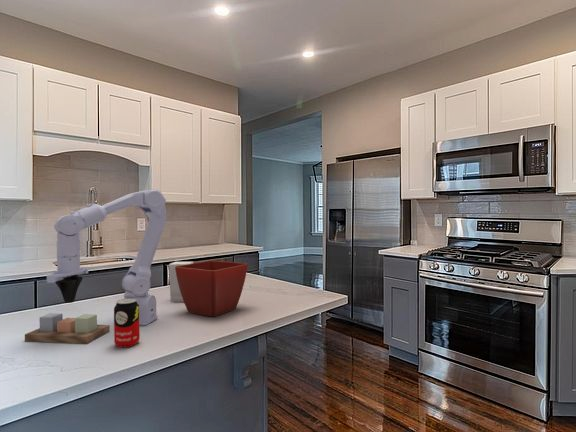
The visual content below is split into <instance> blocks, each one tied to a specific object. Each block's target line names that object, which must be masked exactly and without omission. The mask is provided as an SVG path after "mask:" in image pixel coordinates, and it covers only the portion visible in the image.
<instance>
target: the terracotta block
mask: <svg viewBox="0 0 576 432" xmlns="http://www.w3.org/2000/svg"><path fill="white" fill-rule="evenodd" d="M75 318H76V317H66V318H63V320H61V321H58V322H57V332H69V333H71V332H73V331H75Z"/></svg>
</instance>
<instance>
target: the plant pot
mask: <svg viewBox="0 0 576 432" xmlns="http://www.w3.org/2000/svg"><path fill="white" fill-rule="evenodd" d="M175 270H176V276H177V280H178V285H179V288H180V292H181V295H182V298H183V301H184V302H183V303H184V305H185V307H186V311H187V312H188V313H191V314H197V315H202V316H206V317H207V316H208V317H216V316H219V315H220V316H221V315H222V314H224V313H228V312H232V311H234V310H236V309H237V307H238V304H239V301H240V299H241V295H242V292H243V289H244V286H245V282H246V281H245V280H246V276H247V271H248V263H245V262H234V261H220V260H207V261H205V260H204V261H200V262H193V264H187V265H181V266H176V267H175Z"/></svg>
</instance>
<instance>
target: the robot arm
mask: <svg viewBox="0 0 576 432" xmlns="http://www.w3.org/2000/svg"><path fill="white" fill-rule="evenodd" d="M166 201H167V199H166V198H165V196H164V194H163V193H162V192H161V190H159V189H154V188H152V189H147V190H146V189H143V190H140V191H136V192H132V193H128V194H125V195H123V196H121V197H119V198H117V199H114V200H112V201H110V202H108V203H105V204H103V205H100V204H97V203H94V204H93V203H88V204H86V207H84V208H81V209H79V210H76V211H75V210H72V211H70V213H69V214H67V215H61V216H60V217H58V218H57V219H56V221H55V223H54V226H53V227H54V230H55V232H56V233H57V234H56V238H57V239H56V266H57V267H56V270H55V271H54V272H53V273H50V274H47V275H46V283H51V284H52V283H55V284H56V286H57V287H58V288H59V290H60V292H61V295H62V299H63V300H64V301H63V302H64V303H66V304H67V303H68V304H69V303H71V304H72V303H73V302H75V299H76V297H77V292H78V289H79V286H80V285H81V283H82V281H83V276H81V275H85V274H89V267H88V266H82V267H81V255H80V254H81V252H80V250H81V249H80V248H81V247H80V243H81V242H80V232H81V231H82V230H85V229H87V228H90V227H93V226H95V225H97V224H99V223H102V222H104V221H105V219H106V217H107V216H108V215H110V214H113V213H115V212H117V211H121V210H124V209H126V208H128V207H130V206H132V207H138V208H140V209H141V210H142V211H143V212H144V213H145V215H146V216H147V217H148V219H149V220H148V223H147V226H146V229H145V232H144V235H143V236H142V240H141V242H140V243H141V244H140V246H139V249H138V252H137V254H136V257H135V259H134V262H133V264H132V265H131V266H130V267H129V269H128V271H127V272H126V274H125V276H123V278H122V280H121V287H122V288H123V290H125V292H124V295H123V297H124V298H123V299H128V298H133V299H137V303H138V305H139V326H147V325H149V324H150V323H152V322H153V321H155V320H157V319H158V316H157V298H156V296H155V295H154V294H149V291H150V289H151V285H152V284H151V277H152V271H151V266H152V263H153V261H154V258H155V254H156V252H157V249H158V246H159V243H160V240H161V237H162V234H163V232H164V229H165V226H166V222H167V219H168V215H167V209H166Z"/></svg>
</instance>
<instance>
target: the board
mask: <svg viewBox="0 0 576 432" xmlns="http://www.w3.org/2000/svg"><path fill="white" fill-rule="evenodd" d="M110 328H111V327H110V324H97V329H96V330H94V331H92V332H90V333H75V331H73V332H71V333H69V332H57V330H56V331H54V332H41V331H40V327H38V328H37V329H35V330H32V331H29V332H27V333H24V342H30V343H31V342H32V343H36V342H37V343H54V344H55V343H56V344H58V343H59V344H60V343H61V344H79V345H80V344H81V345H82V344H83V345H85V344H86V345H88V344H91V342H93V341H95V340H97V339H99V338H100V337H103V336H104V335H106V334H109V333H110V330H111V329H110Z"/></svg>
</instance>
